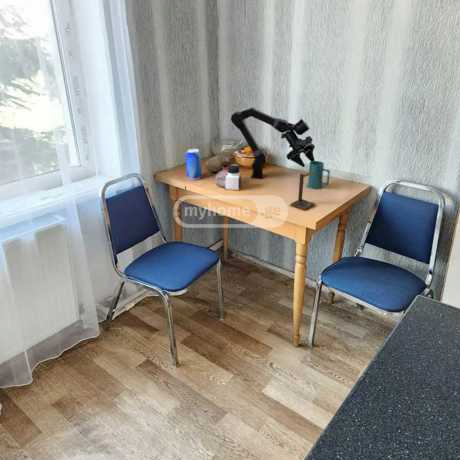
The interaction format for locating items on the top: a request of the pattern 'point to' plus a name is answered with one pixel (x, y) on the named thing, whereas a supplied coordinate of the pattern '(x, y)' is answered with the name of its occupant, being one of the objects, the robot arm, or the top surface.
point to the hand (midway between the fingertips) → (309, 164)
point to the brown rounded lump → (216, 163)
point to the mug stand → (300, 202)
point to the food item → (222, 177)
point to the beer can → (193, 164)
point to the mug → (317, 175)
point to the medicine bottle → (233, 178)
